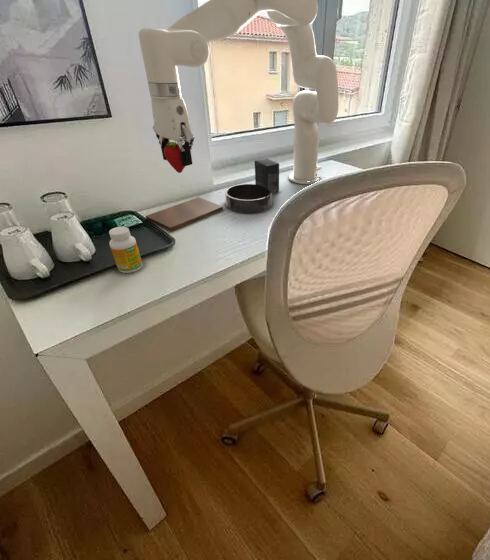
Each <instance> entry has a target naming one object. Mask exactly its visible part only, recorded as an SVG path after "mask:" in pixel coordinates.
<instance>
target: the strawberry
mask: <svg viewBox="0 0 490 560" xmlns="http://www.w3.org/2000/svg"><path fill="white" fill-rule="evenodd" d="M167 143H169V144H167V145H169V146H166V147H165V148H164V155H165V158H166V160H165V161H167V162H168V164H169V165H170V167H172V168H173V169H174V171H176V173H178V174H181V173H182V172H183V171H184V169H185V168H186V166H182V164H181V158H180V152H179V151H181V149H180V147H179V145H178V143H177V141H170V142H167ZM184 143H185V142H184V141H183V142H182V144H183V145H184Z"/></svg>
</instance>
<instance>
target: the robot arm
mask: <svg viewBox="0 0 490 560" xmlns="http://www.w3.org/2000/svg"><path fill="white" fill-rule="evenodd" d="M318 9H319V4H318V0H208V1H206V2H204V3H203V4H202V5H199V6H198V7H196V8H194V9H193V10H191V11H189V12H188V13H186V14H185V15H183V16H182V17H180V18H179V19H178V20H176V21H175V22H174V23H173V24H172V25H170V26H169V27H168V28H167V29H163V28H151V27H150V28H149V27H147V28H146V27H145V28H141V29H140V30H139V31H138V40H139V45H140V49H141V55H142V56H141V57H142V60H143V65H144V69H145V75H146V79H147V85H148V90H149V91H148V92H149V95H150V101H151V110H152V112H151V113H152V117H153V126H152V130H153V132H154V133H155V135H156V136H155V137H156V138H157V139H158V144H159V145H160V149H161V155H162V159H163V160H164V161H167V160H166V158H165V155H164V148H165V147H166V146H169V145H167V144H169V143H167V142H171V140H172V141H173V142H175V141H176V144H177V143H178V145H179V147H180V149H181V151H179V152H180V158H181V164H182V166H185V167H188V166H190V165H193V158H192V151H191V150H193V148H192V147H193V145H194V140H195V135H194V134H193V133H192V127H191V121H190V117H189V112H188V109H187V105H186V102H185V99H184V98H183V95H182V89H181V83H180V75H179V69H178V68H179V67H178V66H181V67H182V66H183V67H188V68H200V67H202V66H204V65H206V63H207V62H208V60H209V58H210V54H211V53H210V46H209V43H212V42H215V41H218V40H224V39H226V38H229V37H232V36H234V35H236V34H238V33H239V32H240V31H241V30H242V29H243V28H245V26H247V25H248V24H249V23H250V22H252V21H253V20H254V19H255V18H257V17H258V16H259V15H260V14H261V13H263V12H266V14H267V16H268V18H269V19H270V20H271V22H272V23H273V24H275V25H276V26H277V27H278V28H280V30H281V31H282V33H283V34H284V36H285V38H286V41H287V44H288V50H289V56H290V57H289V58H290V64H291V73H292V79H293V82H294V84H295V85H296V86H298V87H299V88H303V89H308V90H301V91H298V93H297V94H296V95H294V98H293V100H292V113H293V115H292V116H293V123H294V125H293V126H294V133H293V134H294V139H293V166H292V167H293V168H292V172H291V173H290V174H289V176H288V179H289V180H290V182H292V183H295V184H300V185H313V184H316V183H315V182H317V181H318V182H320V180H321V179H320V178H321V177H320V175H318V172H319V171H322V168H323V167H322V166H321V165H318V158H319V157H318V155H319V145H320V143H319V142H320V128H319V125H325V126H327V125H331V124H333V123H334V121H335V120H336V119H337V116H338V113H339V81H338V79H339V78H338V70H337V65H336V63H335V61H334V60H333V58H331V57H329V56H327V55H319V54H318V53H317V49H316V40H315V39H316V38H315V34H314V31H313V27H312V24H313V23H314V21H315V20H316V18H317V15H318V12H319V11H318ZM313 90H315V91H313ZM318 124H319V125H318ZM182 142H184V143H182ZM183 144H184V145H183ZM317 177H320V178H317ZM316 178H317V179H316ZM318 179H319V180H318ZM316 180H317V181H316ZM307 181H310V182H307ZM318 182H317V183H318Z"/></svg>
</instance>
